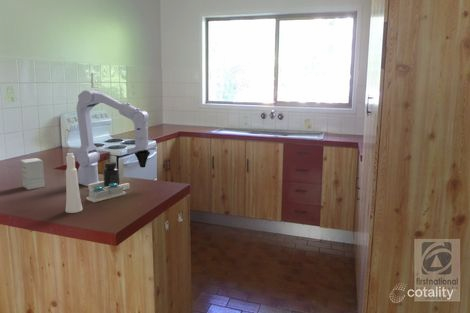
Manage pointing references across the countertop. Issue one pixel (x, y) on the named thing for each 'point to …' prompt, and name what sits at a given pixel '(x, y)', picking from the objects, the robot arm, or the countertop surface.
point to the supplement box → (32, 173)
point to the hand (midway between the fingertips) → (142, 167)
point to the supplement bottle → (111, 174)
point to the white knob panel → (105, 191)
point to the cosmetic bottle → (72, 186)
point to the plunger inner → (113, 185)
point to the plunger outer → (98, 188)
